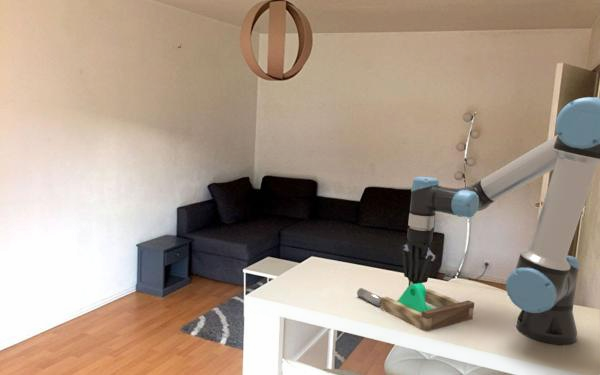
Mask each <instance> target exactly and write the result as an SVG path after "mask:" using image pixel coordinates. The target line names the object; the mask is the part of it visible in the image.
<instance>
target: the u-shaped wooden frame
mask: <svg viewBox="0 0 600 375" xmlns="http://www.w3.org/2000/svg"><path fill="white" fill-rule="evenodd" d="M424 299H425V302H427V303H428V304H431V305H433V306H435V308H434V307H433V308H434V309H430V310H425V311H422V313H421V312H419V311H416V310H414V309H412V308H410V307H408V306H406V305H404V304H402V303H399V302H397V301H398V300H396V299H395V300H394V299H393V298H390V297H389V296H383V297H382V302H381V307H380V309H382V310H383V311H385V312H386V313H388V314H391V315H393V316H395V317H396V318H399V319H400V320H403V321H404V322H407V323H409V324H410V325H413V326H415V327H417V328H418V329H420V330H422V331H425V332H428V331H432V330H436V329H439V328H444V327H447V326H450V325H451V326H452V325H455V324H458V323H462V322H467V321H470V320H473V319H474V318H473V316H474V312H475V310H474V309H475V302H474V301H471V300H465V301H458V300H457V299H455V298H452V297H449V296H447V295H445V294H441V293H440V292H437V291H434V290H432V289H430V288H426V296H425V297H424Z"/></svg>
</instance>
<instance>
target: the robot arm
mask: <svg viewBox="0 0 600 375" xmlns="http://www.w3.org/2000/svg"><path fill="white" fill-rule="evenodd" d="M555 131H556V135H555V136H553V137H551V138H550V139H548V140H546V141H545V142H543V143H541V144H539V145H538V146H536V147H535V148H533V149H531V150H530V151H528V152H525V153H524V154H523V155H520V156H519V157H517V158H516V159H514V160H513V161H510V162H509V163H507V164H506V165H504V166H502V167H501V168H499V169H498V170H495V171H494V172H492V173H490V174H489V175H487V176H485V177H484V178H482V179H480V180H479V181H477V182H475V183H474V184H472V185H470V186H466V187H458V188H456V187H454V188H452V187H447V186H446V187H445V186H442V185H440V183H439V179H438V178H436V177H431V176H428V177H427V176H416V177H414V178H413V180H412V185H411V189H410V192H411V194H410V205H409V213H408V214H409V215H408V223H407V225H408V227H407V234H406V238H407V241H406V242H407V243H406V244H402V245H401V246H400V250H401V253H402V266H403V276H404V277H405V278H407V279H408V286H409V285H412V284H417V283H421V284H423V283H424V284H425V283H427V282H428V280H429V277H430V273H431V271H432V268H433V264H434V262H435V261H436V259H437V258H438V255H437V254H434V253H433V252H432V248H431V243H432V242H433V239H434V238H433V235H434V230H433V228H435V226H434V225H435V216H436V212H437V213H438V212H439V213H443V214H448V215H452V216H457V217H459V218H460V217H461V218H463V217H464V218H472V217H474V216H475V214H477V212H480V211H483V210H485V209H487V208H488V207H490V205H491V204H493V203H495V202H496V201H498V200H500V199H502V198H503V197H506V196H507V195H510V194H511V193H513V192H514V191H516V190H518V189H520V188H522V187H523V186H527V185H528V184H530V183H531V182H533V181H535V180H537V179H538V178H541V177H543V176H544V175H546V174H548V173H550V172H552V175H551V178H550V180H549V184H548V188H547V190H546V193H545V197H544V200H543V203H542V206H541V210H540V212H539V216H538V219H537V221H536V226H535V227H534V231H533V235H532V237H531V241H530V244H529V247H527V248H525V249H523V250H521V252H520V253H519V257H518V260H517V264H516V266H515V269H514V270H512V271H511V272H510V273H509V275H508V277H507V279H506V282H505V290H506V294H507V296H508V297H509V299H510V301H511V302H512V303H513V304H514V306H516V307H517V308H519V309H520V310H521V311H520V312H519V315H518V316H517V319H516V324H515V325H516V326H515V327H516V329H517V330H518V332H520V333H521V334H523V335H524V336H526V337H529V338H531V339H533V340H537V341H539V342H544V343H547V344H554V345H571V344H574V343H576V341H577V339H578V338H577V337H578V330H577V325H576V321H575V316H574V312H573V310H574V304H575V296H576V288H577V282H578V275H579V271H580V268H579V265H580V261H579V259H578V258H577V257H574V256H572V255H568V254H569V252H570V248H571V245H572V242H573V239H574V236H575V233H576V230H577V227H578V224H579V222H580V218H581V215H582V213H583V209H584V206H585V204H586V201H587V198H588V195H589V192H590V189H591V186H592V182H593V180H594V177H595V175H596V171H597V168H598V167H599V166H600V97H591V96H587V97H581V98H577V99H574V100H573V101H570V102H568V103H567V104H566V105H565V106H564V107H563V108H562V109H561V110H560V111H559V113H558V115H557V118H556V121H555ZM408 286H407V287H408Z"/></svg>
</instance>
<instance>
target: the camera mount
mask: <svg viewBox="0 0 600 375" xmlns="http://www.w3.org/2000/svg"><path fill="white" fill-rule="evenodd" d="M408 285H409V284H408ZM426 289H427V288H426V286H425V285H424V284H423V283H417V284H412V285H409V286H407V287H406V289H405V290H404V291H403V293H402V295H400V297H399V299H397V300H396V301H397V302H399V303H402V304H404V305H406V306H408V307H410V308H412V309H414V310H416V311H419V312H421V313H422V311H425V310H430V309H434V307H432V306H429V305H427V303H426V301H425V299H424V297H425V296H426Z"/></svg>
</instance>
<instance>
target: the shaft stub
mask: <svg viewBox="0 0 600 375" xmlns="http://www.w3.org/2000/svg"><path fill="white" fill-rule="evenodd" d="M356 292H357V293H356V295H357V297H358V298H360V299H362V300H364V301H366V302H368V303H370V304H372V305H374V306H375V307H378V308H381V302H382V297H381V295H378V294H375V293H373V292H371V291H370V290H367V289H365V288H363V287H360V288H358V290H357V291H356Z"/></svg>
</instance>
